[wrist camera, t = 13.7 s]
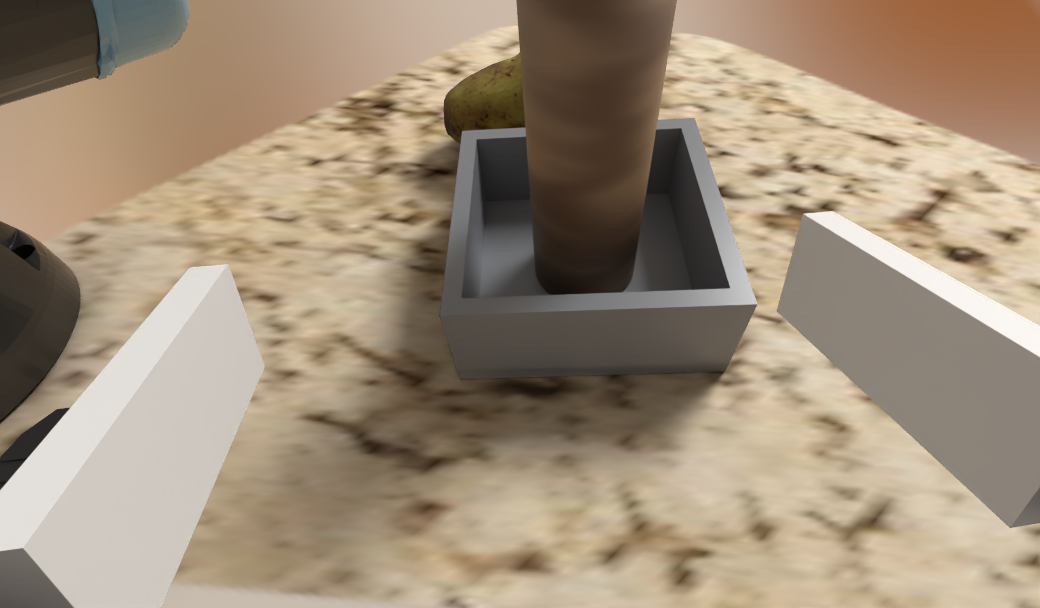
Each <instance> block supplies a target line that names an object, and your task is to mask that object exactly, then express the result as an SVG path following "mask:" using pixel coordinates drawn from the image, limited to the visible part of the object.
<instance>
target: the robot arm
mask: <svg viewBox="0 0 1040 608" xmlns="http://www.w3.org/2000/svg"><path fill="white" fill-rule="evenodd" d="M188 19H189V4H188V0H0V106H1V105H4V104H8V103H11V102H14V101H17V100H21V99H24V98H27V97H31V96H34V95H37V94H41V93H44V92H47V91H51V90H54V89H57V88H61V87H64V86H67V85H70V84H74V83H77V82H80V81H83V80H87V79H90V78H93V77H95V78H97V79H99V80H101V79H104V78H106V77H107V76H108V75H112V73H113V72H114V70H115V68H117V67H120V66H123V65H125V64H128V63H131V62H133V61H136V60H139V59H142V58H144V57H147V56H150V55H153V54H156V53H158V52H161V51H164V50H167V49H169V48H170V47H172V46H173V45H174V44H176V43H177V42H178V41H179V40H180V38H181V36H182V34H183V33H184V31H185V30H186V27H187V25H188ZM79 308H80V288H79V284H78V281H77V279H76V277H75V275H74V273H73V272H72V271H71V269H70V268H69V267H68V266H67V265H66V264H65V263H63V262H62V261H61V260H60V259H59V258H58V257H57V256H55V255H54V254H53V253H52V252H51V251H50V250H49V249H47V248H46V247H45V246H44V245H43V244H42V243H41V242H39V241H38V240H36V239H35V238H33V237H32V236H30V235H29V234H27V233H25V232H23V231H21V230H18V229H16V228H14V227H12V226H10V225H8V224H5V223H3V222H1V221H0V420H1V419H2V418H4V417H5V416H6V415H7V414H8V413H9V412H10V411H12V410H13V409H14V408H15V407H16V406H17V405H18V404H19V403H20V402H21V401H22V400H23V399H24V398H25V397H26V396H27V395H28V394H29V393H30V392H31V391H32V390H33V389H34V388H35V386H36V385H37V384H38V383H39V382H40V381H41V380H42V378H43V377H44V376H45V375H46V374H47V372H48V371H49V370H50V368H51V367H52V366H53V364H54V363H55V362H56V360H57V359H58V357H59V356H60V354H61V352H62V351H63V349H64V347H65V346H66V344H67V342H68V340H69V338H70V336H71V334H72V332H73V329H74V327H75V324H76V321H77V318H78V313H79ZM777 312H778V313H780V314H781V315H782V316H783V317H784V318H785V319H786V320H787V321H788V322H789V323H790V324H791V325H792V326H793V327H795V328H796V329H797V330H798V331H799V332H800V333H801V334H802V335H803V336H804V337H805V338H806V339H807V340H809V341H810V342H811V343H812V344H813V345H814V346H815V347H816V348H817V349H818V350H819V351H820V352H821V353H823V354H824V355H825V356H826V357H827V358H828V359H829V360H830V361H831V362H832V363H833V364H834V365H835V366H837V367H838V368H839V369H840V370H841V371H842V372H843V373H844V374H845V375H846V376H847V377H848V378H849V379H850V380H852V381H853V382H854V383H855V384H856V385H857V386H858V387H859V388H860V389H861V390H862V391H863V392H864V393H866V394H867V395H868V396H869V397H870V398H871V399H872V400H873V401H874V402H875V403H876V404H877V405H878V406H880V407H881V408H882V409H883V410H884V411H885V412H886V413H887V414H888V415H889V416H890V417H891V418H892V419H894V420H895V421H896V422H897V423H898V424H899V425H900V426H901V427H902V428H903V429H904V430H905V431H906V432H907V433H909V434H910V435H911V436H912V437H913V438H914V439H915V440H916V441H917V442H918V443H919V444H920V445H921V446H923V447H924V448H925V449H926V450H927V451H928V452H929V453H930V454H931V455H932V456H933V457H934V458H935V459H937V460H938V461H939V462H940V463H941V464H942V465H943V466H944V467H945V468H946V469H947V470H948V471H949V472H951V473H952V474H953V475H954V476H955V477H956V478H957V479H958V480H959V481H960V482H961V483H962V484H963V485H964V486H966V487H967V488H968V489H969V490H970V491H971V492H972V493H973V494H974V495H975V496H976V497H977V498H978V499H980V500H981V501H982V502H983V503H984V504H985V505H986V506H987V507H988V508H989V509H990V510H991V511H992V512H994V513H995V514H996V515H997V516H998V517H999V518H1000V519H1001V520H1002V521H1003V522H1004V523H1005V524H1006V525H1008V526H1009V527H1010V528H1012V527H1018V526H1024V525H1030V524H1036V523H1040V326H1038V325H1037V324H1035V323H1033V322H1031V321H1029V320H1028V319H1026V318H1024V317H1022V316H1020V315H1019V314H1017V313H1015V312H1013V311H1011V310H1010V309H1008V308H1006V307H1004V306H1002V305H1001V304H999V303H997V302H995V301H993V300H992V299H990V298H988V297H986V296H984V295H983V294H981V293H979V292H977V291H975V290H973V289H972V288H970V287H968V286H966V285H964V284H963V283H961V282H959V281H957V280H955V279H954V278H952V277H950V276H948V275H946V274H945V273H943V272H941V271H939V270H937V269H936V268H934V267H932V266H930V265H928V264H927V263H925V262H923V261H921V260H919V259H918V258H916V257H914V256H912V255H910V254H909V253H907V252H905V251H903V250H901V249H900V248H898V247H896V246H894V245H892V244H891V243H889V242H887V241H885V240H883V239H882V238H880V237H878V236H876V235H874V234H873V233H871V232H869V231H867V230H865V229H864V228H862V227H860V226H858V225H856V224H855V223H853V222H851V221H849V220H847V219H846V218H844V217H842V216H840V215H838V214H837V213H835V212H833V211H829V212H818V213H806V214H803V216H802V219H801V223H800V227H799V231H798V234H797V238H796V242H795V245H794V249H793V253H792V257H791V260H790V264H789V268H788V271H787V275H786V279H785V283H784V286H783V290H782V294H781V297H780V301H779V305H778V309H777ZM264 368H265V366H264V363H263V361H262V358H261V355H260V352H259V349H258V347H257V344H256V341H255V338H254V335H253V333H252V330H251V327H250V324H249V321H248V319H247V316H246V313H245V310H244V307H243V304H242V302H241V299H240V296H239V293H238V290H237V288H236V285H235V282H234V279H233V276H232V274H231V271H230V268H229V265H228V264H224V265H212V266H201V267H190V268H189V269H188V270H187V271H186V273H185V274H184V275H183V276H182V277H181V278H180V280H179V281H178V282H177V283H176V284H175V285H174V287H173V288H172V289H171V290H170V291H169V293H168V294H167V295H166V296H165V297H164V298H163V300H162V301H161V302H160V303H159V304H158V305H157V307H156V308H155V309H154V310H153V311H152V313H151V314H150V315H149V316H148V317H147V318H146V320H145V321H144V322H143V323H142V324H141V325H140V327H139V328H138V329H137V330H136V331H135V333H134V334H133V335H132V336H131V337H130V338H129V340H128V341H127V342H126V343H125V344H124V345H123V347H122V348H121V349H120V350H119V351H118V353H117V354H116V355H115V356H114V357H113V358H112V360H111V361H110V362H109V363H108V364H107V365H106V367H105V368H104V369H103V370H102V371H101V372H100V374H99V375H98V376H97V377H96V378H95V380H94V381H93V382H92V383H91V384H90V385H89V387H88V388H87V389H86V390H85V391H84V392H83V394H82V395H81V396H80V397H79V398H78V400H77V401H76V402H75V403H74V404H73V405H72V407H71V408H64V409H57V410H55V411H54V412H52V413H51V414H49V415H48V416H47V417H45V418H44V419H42V420H41V421H40V422H38V423H37V424H35V425H34V426H33V427H31V428H30V429H28V430H27V431H25V432H24V433H23V434H21V435H20V437H19V438H18V439H17V440H16V441H15V442H14V443H13V444H12V445H11V446H10V448H9V449H8V450H7V451H6V452H5V453H4V454H3V455H2V456H1V457H0V608H161V607H162V604H163V602H164V600H165V597H166V595H167V593H168V590H169V588H170V586H171V584H172V581H173V579H174V577H175V574H176V572H177V570H178V567H179V565H180V563H181V560H182V558H183V556H184V553H185V551H186V549H187V546H188V544H189V542H190V539H191V537H192V535H193V532H194V530H195V528H196V525H197V523H198V521H199V518H200V516H201V514H202V512H203V509H204V507H205V505H206V502H207V500H208V498H209V495H210V493H211V491H212V488H213V486H214V484H215V481H216V479H217V477H218V474H219V472H220V470H221V467H222V465H223V463H224V460H225V458H226V456H227V453H228V451H229V449H230V447H231V444H232V442H233V440H234V437H235V435H236V433H237V430H238V428H239V426H240V423H241V421H242V419H243V416H244V414H245V412H246V409H247V407H248V405H249V402H250V400H251V398H252V395H253V393H254V391H255V388H256V386H257V384H258V382H259V379H260V377H261V375H262V372H263V370H264Z"/></svg>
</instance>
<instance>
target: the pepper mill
mask: <svg viewBox="0 0 1040 608" xmlns="http://www.w3.org/2000/svg"><path fill="white" fill-rule="evenodd" d="M676 1H677V0H517V13H518V28H519V43H520V57H521V72H522V86H523V101H524V115H525V129H526V144H527V158H528V173H529V187H530V202H531V216H532V231H533V245H534V259H535V272H536V276H537V279H538V281H539V283H540V285H541V286H542V287H543V288H544V290H545V291H546V292H548V293H549V294H550V295H566V294H593V293H620V292H623V291H624V290H625V289H626V288H627V287H628V285H629V284H630V282H631V280H632V277H633V272H634V266H635V260H636V253H637V247H638V241H639V234H640V228H641V222H642V216H643V209H644V203H645V197H646V190H647V184H648V178H649V172H650V165H651V159H652V153H653V146H654V140H655V134H656V128H657V121H658V115H659V109H660V102H661V96H662V90H663V84H664V77H665V71H666V65H667V58H668V52H669V46H670V40H671V33H672V27H673V20H674V14H675V8H676Z"/></svg>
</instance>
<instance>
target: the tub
mask: <svg viewBox="0 0 1040 608" xmlns="http://www.w3.org/2000/svg"><path fill="white" fill-rule="evenodd" d="M756 306H757V302H756V299H755V296H754V293H753V290H752V287H751V284H750V281H749V278H748V275H747V272H746V269H745V266H744V263H743V260H742V257H741V254H740V251H739V248H738V246H737V243H736V240H735V237H734V234H733V231H732V228H731V225H730V222H729V219H728V216H727V213H726V210H725V207H724V204H723V201H722V198H721V195H720V192H719V189H718V186H717V183H716V180H715V178H714V175H713V172H712V169H711V166H710V163H709V160H708V157H707V154H706V151H705V148H704V145H703V142H702V139H701V136H700V133H699V130H698V127H697V124H696V121H695V118H686V119H668V120H658V121H657V128H656V134H655V140H654V146H653V153H652V159H651V165H650V172H649V178H648V184H647V190H646V197H645V203H644V209H643V216H642V222H641V228H640V234H639V241H638V247H637V253H636V260H635V266H634V272H633V277H632V280H631V282H630V284H629V285H628V287H627V288H626V289H625V290H624V291H623V292H620V293H593V294H566V295H550V294H549V293H548V292H546V291H545V290H544V288H543V287H542V286H541V285H540V283H539V281H538V279H537V276H536V272H535V259H534V245H533V231H532V216H531V202H530V187H529V173H528V158H527V144H526V129H525V128H507V129H489V130H471V131H462V137H461V145H460V153H459V161H458V169H457V177H456V185H455V193H454V201H453V210H452V218H451V226H450V234H449V242H448V250H447V258H446V266H445V274H444V282H443V291H442V299H441V307H440V315H439V316H440V319H441V322H442V325H443V328H444V331H445V334H446V337H447V341H448V344H449V347H450V350H451V353H452V356H453V359H454V362H455V365H456V368H457V372H458V375H459V378H460V379H484V378H519V377H555V376H590V375H626V374H661V373H697V372H725V370H726V368H727V366H728V364H729V362H730V360H731V358H732V356H733V354H734V352H735V350H736V348H737V346H738V343H739V341H740V339H741V337H742V335H743V333H744V331H745V329H746V327H747V325H748V323H749V321H750V318H751V316H752V314H753V312H754V310H755V308H756Z"/></svg>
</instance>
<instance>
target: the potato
mask: <svg viewBox="0 0 1040 608" xmlns="http://www.w3.org/2000/svg"><path fill="white" fill-rule="evenodd" d="M444 124H445V128H446V131H447V133H448V135H450V136H451V137H452V138H453V139H454V140H456V141H457V142H459V143H461V137H462V131H471V130H489V129H507V128H525V115H524V101H523V86H522V72H521V57H520V53H519V54H518V55H516V56H515V57H512V58H510V59H507V60H503V61H501V62H498V63H495V64H492V65H490V66H488V67H486V68H484V69H482V70H480V71H478V72H476V73H474V74H472V75H470V76H469V77H467V78H465V79H464V80H462V81H461V82H460V83H459V84H457V85H456V86H455V87H454V88H453V89H451V90H450V91H449V92H448V94H447V95H446V97H445V100H444Z"/></svg>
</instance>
